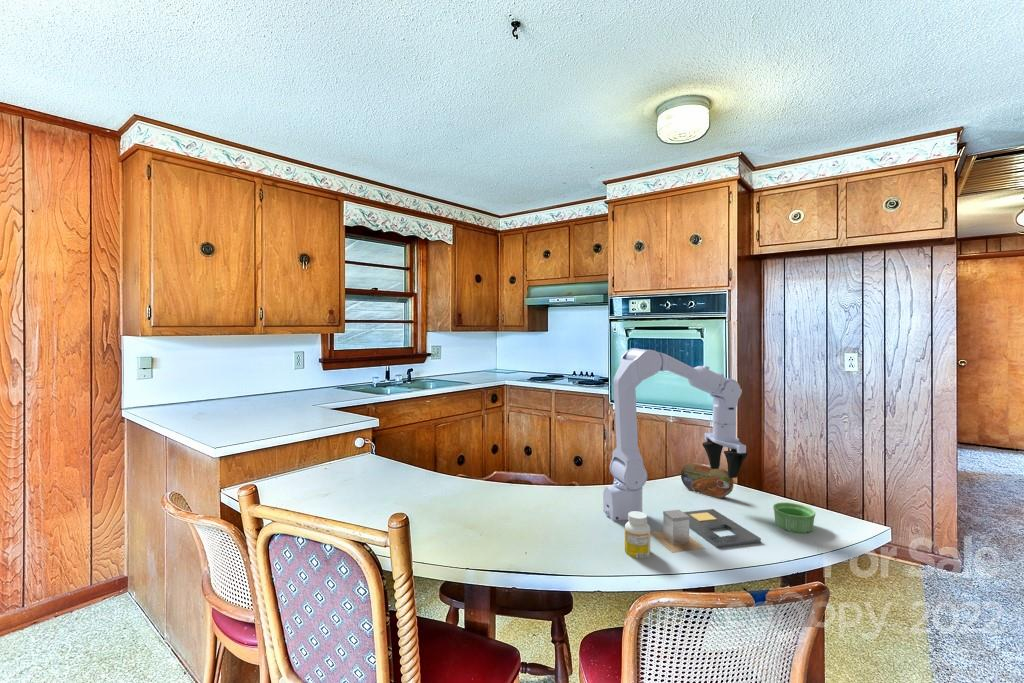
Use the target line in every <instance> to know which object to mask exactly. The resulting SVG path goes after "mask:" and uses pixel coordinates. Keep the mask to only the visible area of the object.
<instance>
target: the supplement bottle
mask: <svg viewBox="0 0 1024 683" xmlns="http://www.w3.org/2000/svg"><path fill="white" fill-rule="evenodd" d="M650 532H651V526H650V525H649V524H648V515H647V513H645V512H643V511H642V512H639V511H632V512H629V513H628V520H627V522H626V523H625V525H624V553H625V554H626V555H628V556H630V557H632V558H636V559H646V558H649V557H650V555H651V534H650Z"/></svg>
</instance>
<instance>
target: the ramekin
mask: <svg viewBox="0 0 1024 683" xmlns="http://www.w3.org/2000/svg"><path fill="white" fill-rule="evenodd" d="M772 508H773V514H774V522H775V524H776V525H777V526H778V527H779V528H780V529H782V530H785V531H787V530H788V532H791V531H792V533H797V532H798V533H799V534H805V533H806V534H807V532H808V533H810V532H812V531H813V529H814V523H815V517H816V511H815V510H814V509H812V508H810V506H809V507H808V506H807V505H804V504H799V503H794V502H784V501H783V502H777V503H774V504H773V507H772Z"/></svg>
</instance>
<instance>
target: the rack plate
mask: <svg viewBox="0 0 1024 683" xmlns="http://www.w3.org/2000/svg"><path fill="white" fill-rule="evenodd" d="M682 512H683V513H685V514H686V515H688V516H689V517H690V520H689V530H691V531H692V532H694V533H695V534H697V535H698V536H699V537H701V538H702V539H703V540H705V541H706V542H708V543H709V544H711V545H712V546H713V547H715V548H716V549H722V548H731V547H738V546H746V545H747V546H748V545H753V544H754V545H755V544H762V538H761V537H759V536H758V535H756V534H755V533H753V532H751V531H750V530H748V529H747V528H745V527H743V526H742V525H740V524H738V523H737V522H735V521H733V520H732V519H730V518H728V517H727V516H726V515H723V514H722V513H721V512H719V511H717V510H716V509H714V508H709V509H701V510H699V509H698V510H691V511H682ZM723 529H726V530H727V531H729V532H730V533H732V534H731V535H725V536H724V535H723V536H720V535H718V534H717V533H716V532H714V531H717V530H723Z"/></svg>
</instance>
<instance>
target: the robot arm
mask: <svg viewBox="0 0 1024 683" xmlns="http://www.w3.org/2000/svg"><path fill="white" fill-rule="evenodd" d="M664 371H666V372H670V373H673V374H675V375H677V376H680V377H683V378H685V379H687V381H688V383H689V385H690V386H691V387H693V388H695V389H698V390H700V391H702V392H705V393H707V394H709V395H710V396H711V397H712V432H704V440H705V441H706V442H704V441H703V442H702V444H701V445H702V446H703V448H704V451H705V452H706V454H707V458H708V462H709V466H710V467H711V469H719V468H720V466H721V456H722V450H723V448H727V449H730V450H723V454H724V456H725V460H726V463H727V472H728V475H729V477H730V478H732V479H734V478H735V479H737V478H738V477H739V474H740V470H741V467H742V464H743V463H744V461H745V459H747V456H748V454H749V453H748V452H747V445H746V444H743V443H742V442H740V438H738V437H737V407H738V404H739V400H740V398H741V397H742V396H741V395H742V393H743V389H742V388H741V386H740V384H739V382H738V381H737V380H736V379H733V378H727V377H725V374H724V373H721V372H718V373H716V372H715V371H713V370H710V367H709V366H708V365H697V366H694V367H692V366H691V365H688V364H686V363H685V362H682V361H680V360H679V359H676V358H675V357H672V356H671V355H668V354H666V353H663V352H661V351H660V352H659V351H656V350H653V349H641V348H638V347H634V348H633V347H632V348H629V349H627V351H626V352H625V353H624V354H622V356H620V363H619V365H618V368H617V370H616V373H615V374H614V377H613V380H612V381H613V382H612V384H613V401H614V419H615V420H614V421H615V422H614V423H615V442H616V445H615V446H616V447H615V448H614V450H613V451H612V453H611V454H612V458H611V461H610V462H609V463H610V464H609V471H610V474H611V475H612V477H613V483H612V484H611V485H610V486H609V485H608V486H606V487H604V489H603V492H602V494H603V495H602V497H603V498H602V499H603V500H602V501H603V502H602V503H603V504H602V505H603V506H602V507H603V508H602V509H603V513H604V514H605V516H606V517H608V518H609V520H611V521H613V522H614V521H626V520H627V521H628V513H629V512H632V511H639V512H643V486H645V485H646V483H647V481H648V471H647V470H646V468H645V465H644V459H643V457H642V455H641V452H640V449H639V438H638V436H639V435H638V419H637V418H638V415H637V397H636V396H637V395H636V388H637V387H638V386H639V385H640V384H642V382H643V381H645V380H646V379H648V378H651V377H652V376H653V377H654V376H655V375H656V374H658V372H664Z"/></svg>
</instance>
